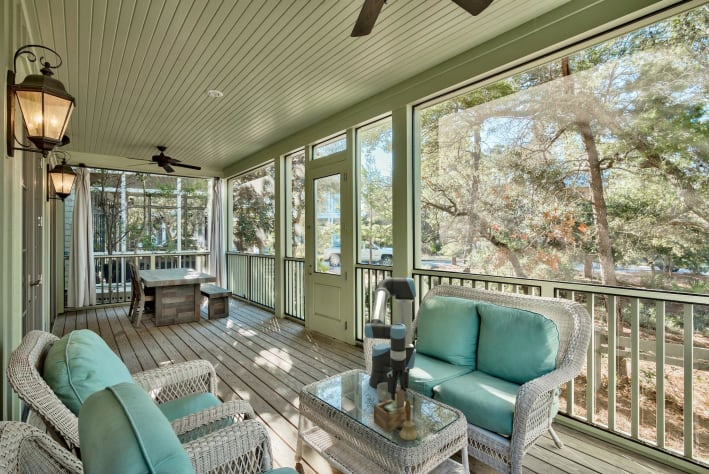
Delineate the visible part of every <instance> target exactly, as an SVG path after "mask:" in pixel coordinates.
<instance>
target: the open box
mask: <svg viewBox="0 0 709 474" xmlns="http://www.w3.org/2000/svg"><path fill="white" fill-rule="evenodd" d="M391 402H392V399H390V400H387V401H385V402H380V403H377V404H374V405H373V422H375V423H376V424H377V425H379V426H380V427H381V428H383V430H385V431H387V432H391V431H393V430H396V429H398V428H401V427H403V424H404V422H405V421H407V419H406V416H407V414H406V410H405V407H403V408H400V409H397V410H395V411H392V412H389V411H388V410H386V409H385V408H384V407H383V405H386V404H389V403H391ZM411 414H412V413H411V412H410V421H411ZM411 422H412V421H411Z"/></svg>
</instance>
